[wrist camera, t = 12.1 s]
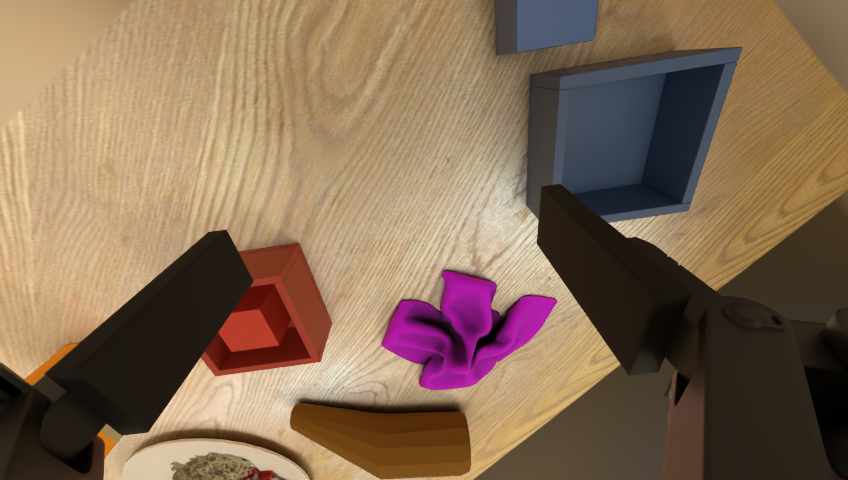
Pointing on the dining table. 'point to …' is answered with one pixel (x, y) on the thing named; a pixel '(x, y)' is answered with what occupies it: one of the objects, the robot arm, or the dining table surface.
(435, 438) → the horn
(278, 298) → the red block
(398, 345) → the cloth
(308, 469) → the dining table surface
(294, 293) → the red bin
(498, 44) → the blue block
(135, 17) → the dining table surface
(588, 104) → the blue bin
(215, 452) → the plated food
